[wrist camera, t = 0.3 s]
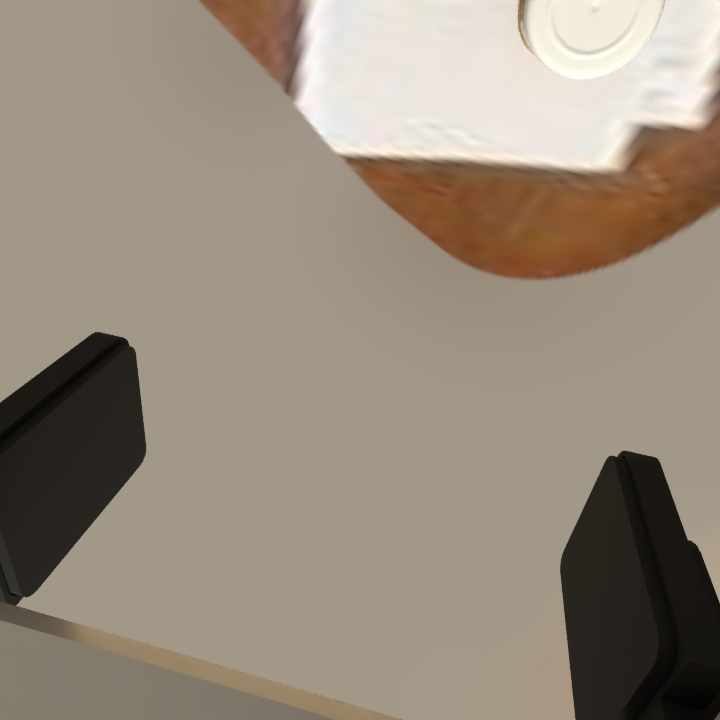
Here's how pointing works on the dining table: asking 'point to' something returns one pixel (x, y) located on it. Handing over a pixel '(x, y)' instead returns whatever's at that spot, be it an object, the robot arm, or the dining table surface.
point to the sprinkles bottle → (587, 33)
